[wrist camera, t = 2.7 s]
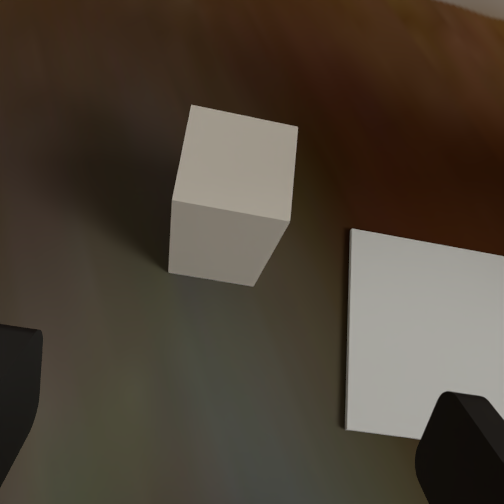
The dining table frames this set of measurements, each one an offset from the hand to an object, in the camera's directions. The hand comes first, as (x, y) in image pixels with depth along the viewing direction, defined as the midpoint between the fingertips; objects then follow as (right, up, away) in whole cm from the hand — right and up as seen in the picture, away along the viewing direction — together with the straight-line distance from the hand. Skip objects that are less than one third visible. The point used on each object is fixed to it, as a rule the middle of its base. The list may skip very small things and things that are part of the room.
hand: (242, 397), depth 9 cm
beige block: (-2, +4, +24) cm, 24 cm away
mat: (+14, -3, +24) cm, 28 cm away
